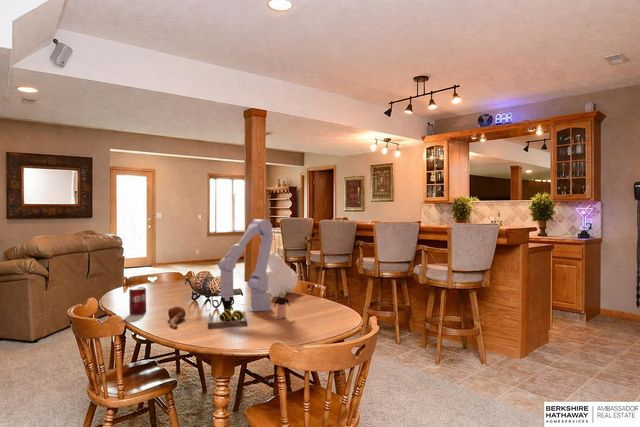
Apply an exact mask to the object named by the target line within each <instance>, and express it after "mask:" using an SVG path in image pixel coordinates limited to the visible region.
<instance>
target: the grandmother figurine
mask: <svg viewBox="0 0 640 427" xmlns="http://www.w3.org/2000/svg"><path fill="white" fill-rule="evenodd" d="M286 294H287V293H285V291H283V290H280V291H279V292H278V295H279V296H278V297H279V298H278V297H277V299H275V301H274V303H273V306H272V307H273V308H276V306H277V309H276V311H277V312H276V317H275V319H276V320H281V319H284V320H285V319H287V317H286V311H287V309H286V308H287V307H286V304H287V305H288V306H291V303H290V301H289V300H290V299H287V298H286V297H285V296H286Z"/></svg>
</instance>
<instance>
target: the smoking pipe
mask: <svg viewBox="0 0 640 427" xmlns="http://www.w3.org/2000/svg"><path fill="white" fill-rule="evenodd" d="M167 314H168V318H169V324H170V326H171V327H172V328H173V329H174V330H176V329H178V325H177V324H176V323H178V322H180V321H181V320H182V319H184V318H185V317H186V310H185V309H184V308H183V307H181V306H175V307H171V308H168V313H167Z"/></svg>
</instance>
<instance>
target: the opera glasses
mask: <svg viewBox="0 0 640 427" xmlns="http://www.w3.org/2000/svg"><path fill="white" fill-rule="evenodd" d="M218 318H219V322H223V321H239V320H244V319H243V311H241V310H239V309H237V310H234V311H233V312H231V309H230V310H228V309H226V310H225V312H224V311H223V312H222V313H220V314H219V315H218Z"/></svg>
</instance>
